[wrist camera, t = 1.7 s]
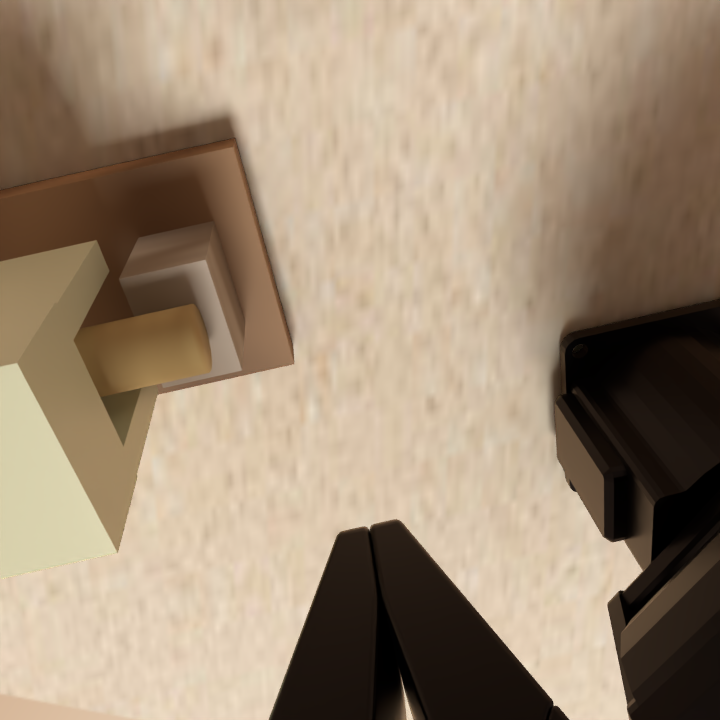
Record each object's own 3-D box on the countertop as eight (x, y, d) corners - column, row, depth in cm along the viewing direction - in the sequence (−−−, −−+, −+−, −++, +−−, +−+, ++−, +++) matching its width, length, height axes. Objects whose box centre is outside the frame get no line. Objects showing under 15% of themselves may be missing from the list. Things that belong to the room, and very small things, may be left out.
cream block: (95, 237, 16) (16, 363, 11) (159, 391, 18) (117, 553, 13) (-56, 271, 16) (-203, 411, 11) (27, 421, 18) (-65, 593, 13)
